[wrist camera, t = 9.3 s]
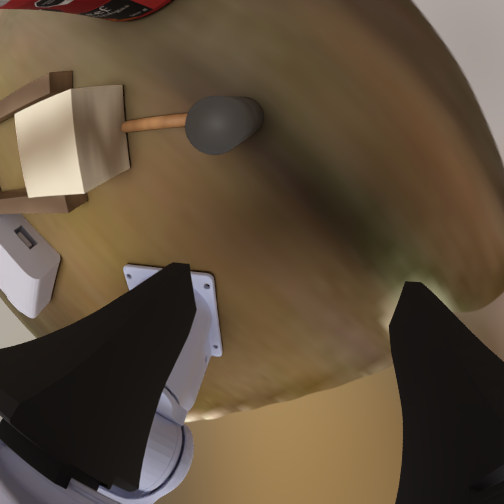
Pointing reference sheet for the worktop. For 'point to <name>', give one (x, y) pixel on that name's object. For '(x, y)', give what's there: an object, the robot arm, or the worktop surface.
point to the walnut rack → (9, 107)
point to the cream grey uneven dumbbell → (113, 135)
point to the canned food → (91, 7)
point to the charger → (26, 265)
